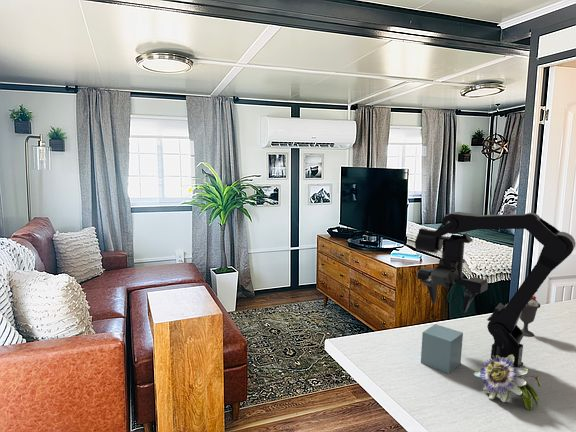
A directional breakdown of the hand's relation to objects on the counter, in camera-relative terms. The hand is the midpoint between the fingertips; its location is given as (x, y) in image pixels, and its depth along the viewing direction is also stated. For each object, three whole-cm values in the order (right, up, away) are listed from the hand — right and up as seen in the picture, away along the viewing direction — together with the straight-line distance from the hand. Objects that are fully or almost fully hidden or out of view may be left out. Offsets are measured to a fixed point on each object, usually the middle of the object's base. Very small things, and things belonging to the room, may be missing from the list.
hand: (448, 307), depth 115 cm
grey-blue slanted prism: (-6, -13, -8) cm, 17 cm away
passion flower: (+4, -16, -23) cm, 28 cm away
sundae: (+29, -11, +11) cm, 33 cm away
